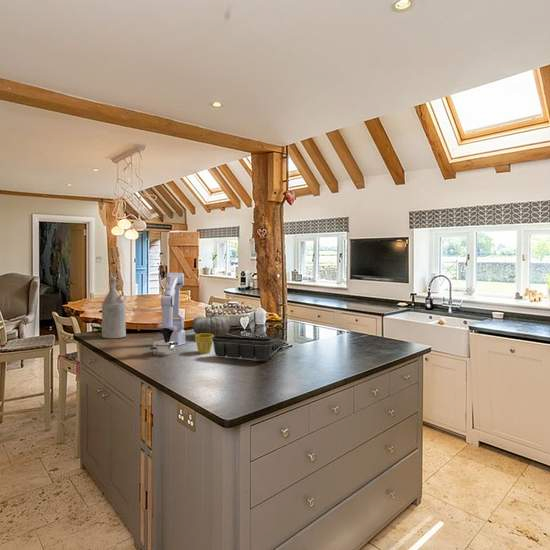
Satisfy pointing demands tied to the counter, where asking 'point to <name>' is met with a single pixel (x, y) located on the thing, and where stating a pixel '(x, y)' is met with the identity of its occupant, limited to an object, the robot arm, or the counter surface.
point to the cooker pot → (163, 350)
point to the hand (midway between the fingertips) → (167, 342)
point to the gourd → (211, 325)
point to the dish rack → (246, 345)
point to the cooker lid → (162, 342)
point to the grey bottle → (113, 313)
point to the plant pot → (204, 342)
